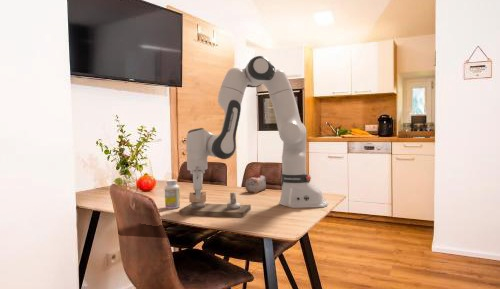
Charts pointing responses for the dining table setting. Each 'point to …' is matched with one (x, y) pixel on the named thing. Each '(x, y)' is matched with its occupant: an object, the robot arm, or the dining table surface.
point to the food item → (256, 183)
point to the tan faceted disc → (193, 197)
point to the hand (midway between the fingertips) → (198, 197)
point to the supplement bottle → (172, 195)
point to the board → (216, 209)
